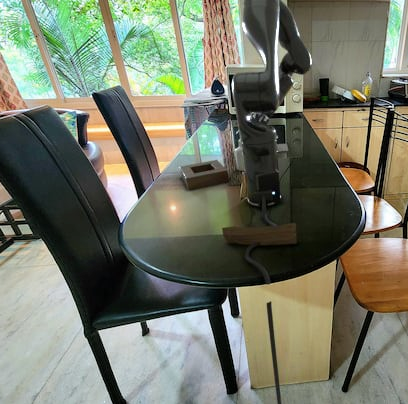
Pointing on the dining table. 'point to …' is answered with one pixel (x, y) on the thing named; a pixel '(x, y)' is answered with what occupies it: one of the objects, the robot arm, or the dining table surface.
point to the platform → (282, 147)
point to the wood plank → (262, 234)
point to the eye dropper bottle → (239, 157)
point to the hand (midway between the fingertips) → (242, 138)
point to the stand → (204, 174)
